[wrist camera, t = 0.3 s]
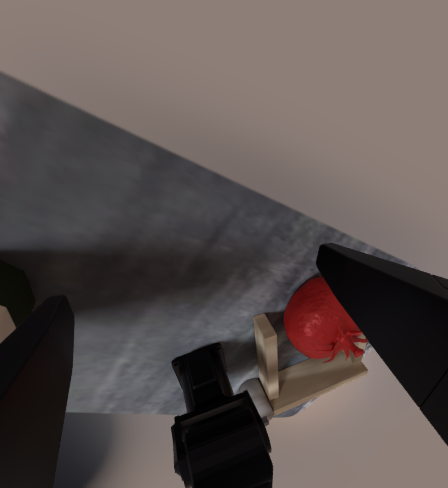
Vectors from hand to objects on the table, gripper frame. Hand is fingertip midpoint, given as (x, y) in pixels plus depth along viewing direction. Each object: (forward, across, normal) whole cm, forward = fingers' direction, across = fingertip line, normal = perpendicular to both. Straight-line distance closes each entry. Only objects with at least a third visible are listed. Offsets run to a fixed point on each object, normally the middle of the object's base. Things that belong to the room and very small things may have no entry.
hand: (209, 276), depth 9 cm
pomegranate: (+15, -17, +19) cm, 30 cm away
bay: (+14, -17, +28) cm, 35 cm away
